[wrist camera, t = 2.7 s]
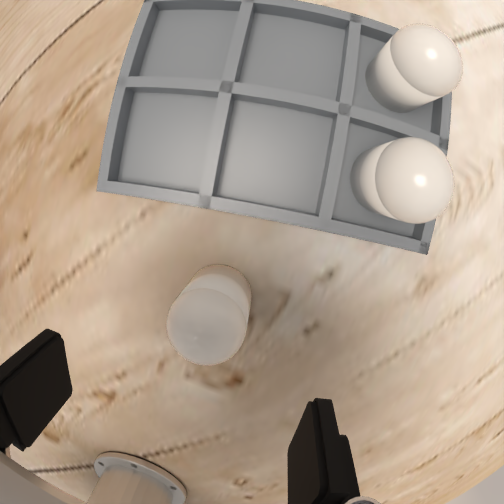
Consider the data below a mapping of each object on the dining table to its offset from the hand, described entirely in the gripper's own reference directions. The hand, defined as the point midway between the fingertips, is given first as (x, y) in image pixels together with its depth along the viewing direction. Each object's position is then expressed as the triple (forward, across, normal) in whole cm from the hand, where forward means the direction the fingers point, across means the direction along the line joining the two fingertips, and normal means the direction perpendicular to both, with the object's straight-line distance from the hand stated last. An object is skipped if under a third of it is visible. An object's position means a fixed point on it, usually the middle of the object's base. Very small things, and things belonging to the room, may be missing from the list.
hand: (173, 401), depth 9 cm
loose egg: (+12, 0, +1) cm, 12 cm away
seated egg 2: (+12, -9, -9) cm, 18 cm away
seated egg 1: (+12, -9, -17) cm, 23 cm away
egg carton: (+13, -2, -13) cm, 18 cm away
